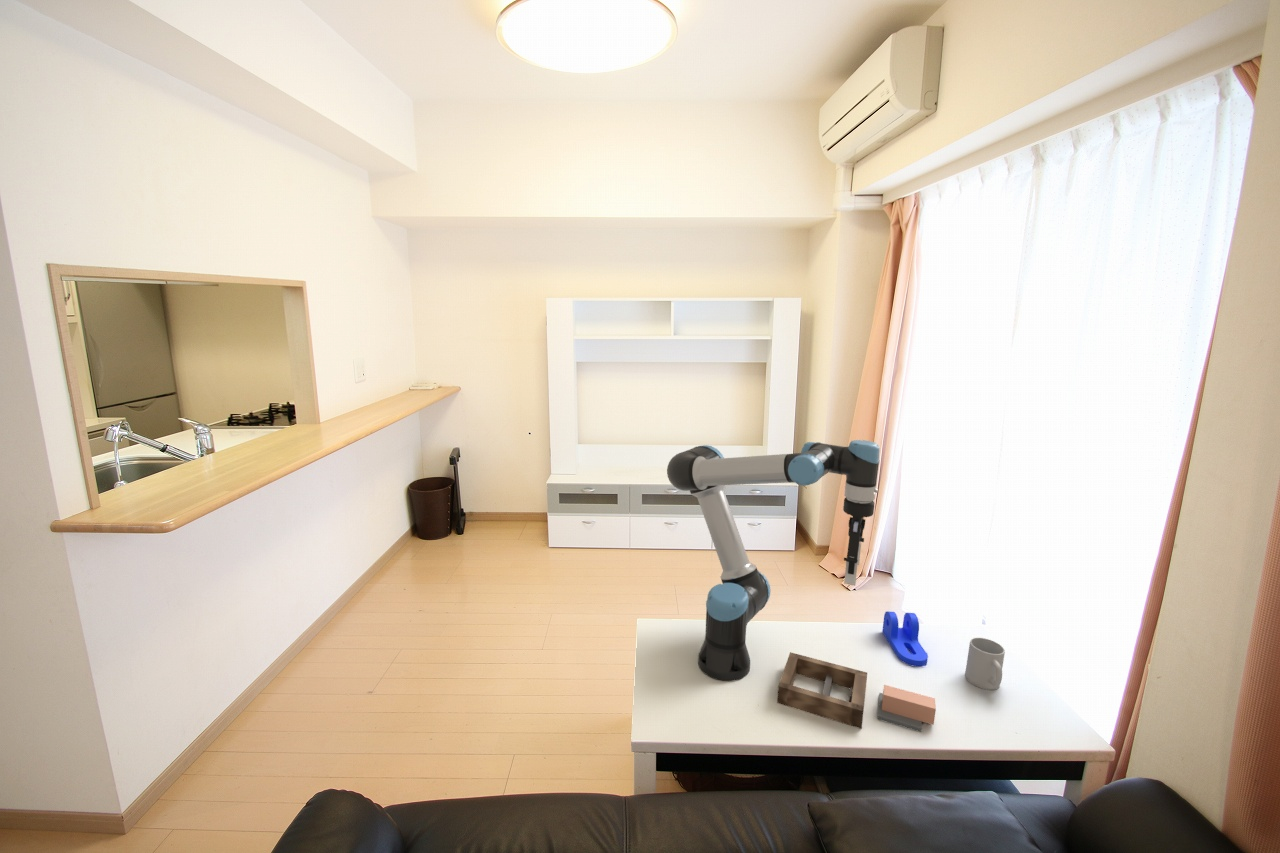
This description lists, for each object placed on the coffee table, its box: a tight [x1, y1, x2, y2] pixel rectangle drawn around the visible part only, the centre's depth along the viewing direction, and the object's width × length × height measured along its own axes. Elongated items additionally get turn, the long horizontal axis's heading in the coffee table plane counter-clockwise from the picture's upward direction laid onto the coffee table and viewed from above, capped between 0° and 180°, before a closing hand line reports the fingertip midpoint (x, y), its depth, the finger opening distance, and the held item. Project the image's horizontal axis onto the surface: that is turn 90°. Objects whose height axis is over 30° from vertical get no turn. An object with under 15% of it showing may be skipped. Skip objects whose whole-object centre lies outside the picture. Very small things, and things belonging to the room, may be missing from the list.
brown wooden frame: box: [776, 651, 868, 730], centre depth 149 cm, size 21×17×5 cm
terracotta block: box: [882, 684, 937, 726], centre depth 142 cm, size 12×4×4 cm, turn 65°
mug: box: [964, 637, 1006, 691], centre depth 154 cm, size 12×8×11 cm
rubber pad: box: [877, 692, 923, 733], centre depth 143 cm, size 10×10×1 cm
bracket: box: [882, 610, 929, 667], centre depth 171 cm, size 18×8×9 cm, turn 175°
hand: (851, 573), depth 149 cm, fingers open, 13 cm apart
